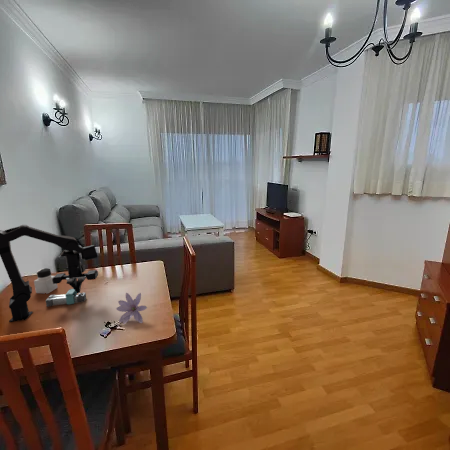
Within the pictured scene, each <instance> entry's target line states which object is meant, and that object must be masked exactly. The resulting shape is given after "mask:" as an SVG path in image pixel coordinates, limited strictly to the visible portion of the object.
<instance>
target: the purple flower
mask: <svg viewBox="0 0 450 450" xmlns="http://www.w3.org/2000/svg"><path fill="white" fill-rule="evenodd" d="M125 299H126V301H125V300H122V299H121V300H118V301H117V302H118V304H119V306H117V307H116V308H115V309H116V311H118V312H121V313H123V312H125V313H123V314H122V315H121V316H120V318H119V320H118V323H123V325H125V324H126V323H128V322H129V321H130V319H131V318H132V317H133V319H134V321H136V322H138V323H140V324H143V322H144V321H143V316H142V314H141V313H140V312H142V311H145V310H146V309H147V308H148V307H147V306H146V305H139V304H140V303H141V300H142V294H141V292H138V294H137V295H136V297H135V298H134V299H133V298H132V296H131V294H129V292H126V293H125Z"/></svg>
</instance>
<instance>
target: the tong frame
mask: <svg viewBox="0 0 450 450" xmlns="http://www.w3.org/2000/svg"><path fill="white" fill-rule="evenodd" d="M73 296H74V302H75V303H74V304H77V303H78V304H79V303H85V301H86V300H87V294H86V292H80V293H77V295H73ZM45 305H46V307H47V308H49V307H53V306H59V305H68V304H67V302H66V296H64V297H55V298H49V297H47V298H46V300H45Z"/></svg>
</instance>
